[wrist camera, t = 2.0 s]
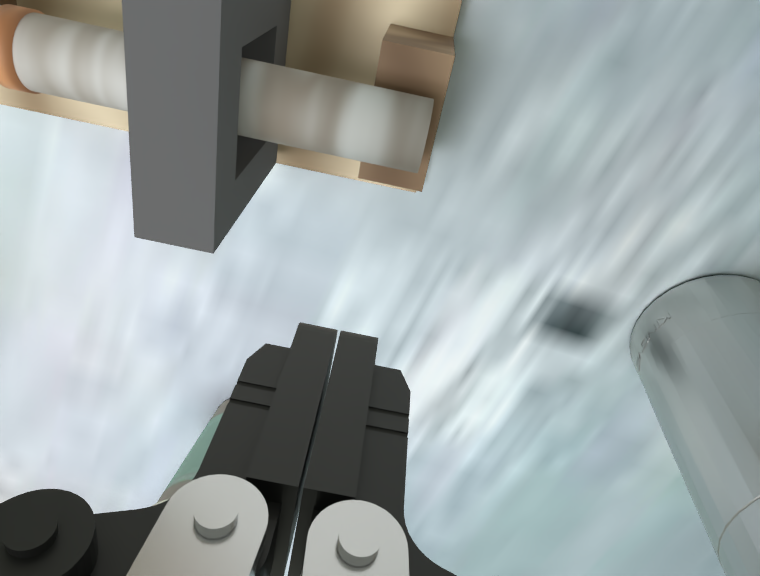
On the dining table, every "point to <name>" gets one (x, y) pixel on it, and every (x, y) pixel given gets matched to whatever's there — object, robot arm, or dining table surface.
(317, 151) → the pipe rig
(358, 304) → the dining table surface
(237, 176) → the collar
